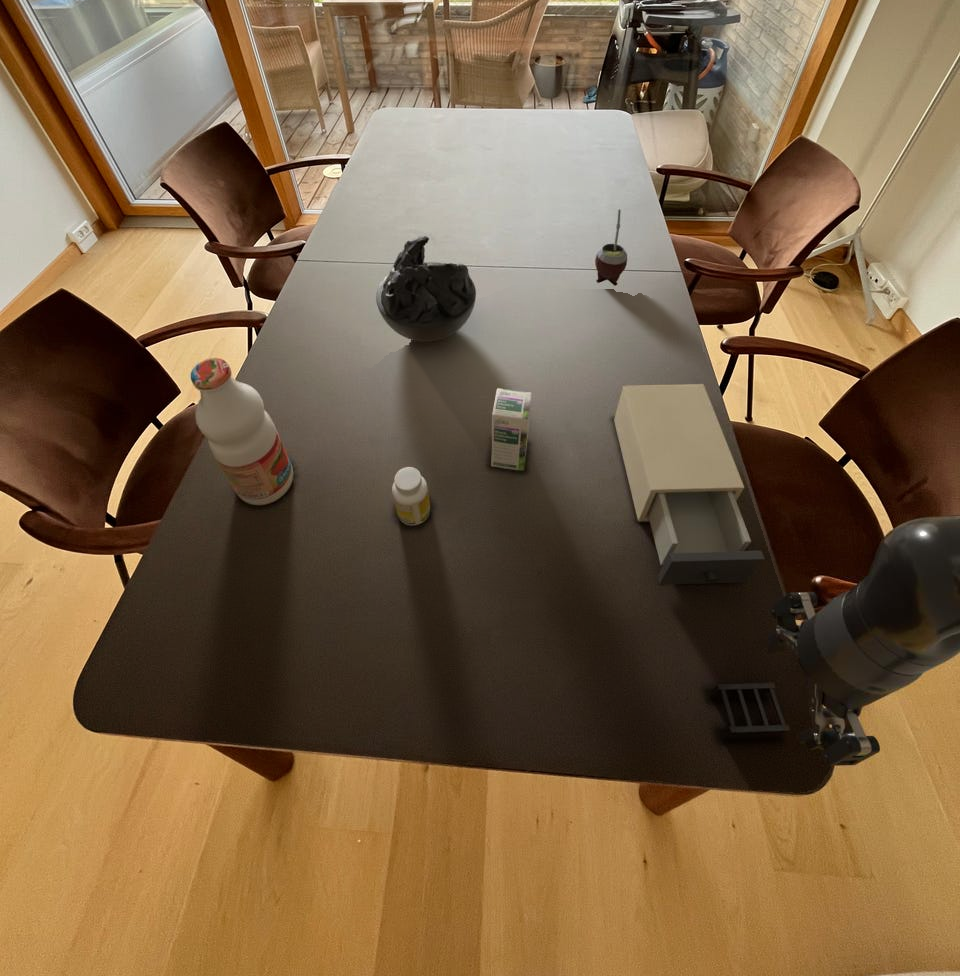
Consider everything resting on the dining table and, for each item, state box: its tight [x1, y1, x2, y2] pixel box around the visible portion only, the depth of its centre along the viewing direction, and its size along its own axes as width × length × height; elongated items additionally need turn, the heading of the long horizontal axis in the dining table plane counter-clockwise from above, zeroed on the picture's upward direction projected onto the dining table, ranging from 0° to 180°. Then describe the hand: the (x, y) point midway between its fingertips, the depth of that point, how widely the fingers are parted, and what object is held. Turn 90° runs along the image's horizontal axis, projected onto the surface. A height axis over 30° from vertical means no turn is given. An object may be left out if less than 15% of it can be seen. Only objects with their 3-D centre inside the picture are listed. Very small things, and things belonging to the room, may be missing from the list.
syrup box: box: [490, 387, 533, 472], centre depth 94 cm, size 6×6×14 cm
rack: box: [709, 682, 791, 740], centre depth 70 cm, size 5×7×4 cm
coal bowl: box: [375, 235, 477, 343], centre depth 114 cm, size 20×20×19 cm
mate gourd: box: [594, 209, 628, 286], centre depth 128 cm, size 8×8×15 cm
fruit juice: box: [190, 357, 294, 506], centre depth 85 cm, size 9×9×28 cm
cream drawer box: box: [613, 383, 745, 523], centre depth 94 cm, size 20×14×10 cm
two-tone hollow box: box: [647, 491, 765, 586], centre depth 86 cm, size 20×13×8 cm, turn 2°
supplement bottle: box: [391, 466, 431, 526], centre depth 88 cm, size 5×5×10 cm
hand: (790, 691), depth 62 cm, fingers open, 8 cm apart
